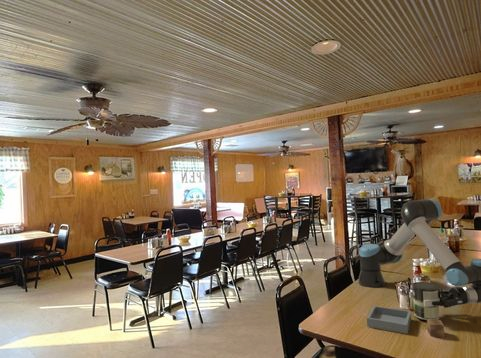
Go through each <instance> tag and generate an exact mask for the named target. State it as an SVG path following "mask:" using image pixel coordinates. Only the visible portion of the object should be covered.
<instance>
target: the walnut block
mask: <svg viewBox="0 0 481 358" xmlns="http://www.w3.org/2000/svg"><path fill="white" fill-rule="evenodd" d="M426 326H427V332H428V334H429V336H430V337H435V338H443V339H444V338H445V325H444V323H443V321H442V320H440V319H438V320H431V319H427V320H426Z"/></svg>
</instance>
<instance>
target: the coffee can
mask: <svg viewBox="0 0 481 358" xmlns="http://www.w3.org/2000/svg"><path fill="white" fill-rule="evenodd" d="M438 289H439V286H438V285H437V284H436V283H433V282H432V283H431V282H428V281H416V282H413V283H412V292H413V298H412V299H413V315H414V317H416V318H417V319H420V320H424V321H427V319H431V320H440V309H439V308H440V305H439V306H429V307H424V300H431V299H438V300H439V298H438Z"/></svg>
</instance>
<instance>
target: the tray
mask: <svg viewBox="0 0 481 358" xmlns="http://www.w3.org/2000/svg"><path fill="white" fill-rule="evenodd" d="M411 322H412V311H411V310H406V309H398V308H391V307H385V306H378V305H373V306H372V308H371V310H370V312H369V313H368V315H367V317H366V326H367V327H368V328H372V329H378V330H383V331H389V332H395V333H400V334H404V335H408V334H409V330H410V326H411Z"/></svg>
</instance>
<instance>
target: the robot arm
mask: <svg viewBox="0 0 481 358" xmlns="http://www.w3.org/2000/svg"><path fill="white" fill-rule="evenodd" d="M400 215H401V219H402V221H403V223H402V225H400V227H399V228H398V229H397V230H396V232H395V233H394V234H393V235H392V236H391V238H389V239H386V240H385V241H384V242H383V243H382V245H379V244H375V243H372V244H371V243H370V244H369V243H368V244H365V245H362V246H361V247H359V261H360V263H359V264H360V272H359V276H358V281H357V282H358V284H359V285H360V286H364V287H369V288H379V287H384V286H385V284H386V283H385V279H384V275H383V273H382V269H381V268H382V266H384V265H389V264H396V263H398V262H400V261H402V259H403V254H404V253H403V252H404V250H403V249H404V248H406V246H407V244H408V243H409V242H411V240H412V239H413V238H414V237H415V235H416V237H418V239H420V241H421V242H422V244H423V245H424V246H425V247H426V248H427V250H428V251H429V252H430V253H431V254H432V255H433V257H434V258H435V259H436V260H437V262H438V263H439V264H440V265H441V267H442V268H443V269H444V270H445V277H446V280H447V282H448V283H449V284H450V285H452V286H454V287H451V288H450V289H449V290H443V288H438V299H431V300H424V307H429V306H439V307H444V309H448V308H450V307H455V306H459V305H460V306H462V305H467V304H468V305H471V304H481V258H473V259H471V261H470V265H464V264H463V263H462V262H461V260H460V259H459V258H458V257H457V256H456V254H454V252H453V251H452V250H451V248H449V247H448V246H447V245H446V244H447V243H445V241H443V240H442V238H441V237H440V236H439V235H438V234H437V233H436V232H435V230H434V229H433V228H432V227H431V226H430V224H431V223H432V221H437V220H439V219H440V218H441V217H442V215H443V210H442V206H441V204H440V203H439V202H438V201H437V200H436V199H433V198H425V199H416V200H409V201H407V202H405V203H404V204H403V205H402V207H401V210H400ZM470 284H471V285H470ZM408 293H409V294H408V295H409V298H410V299H413V291H409V292H408Z"/></svg>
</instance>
